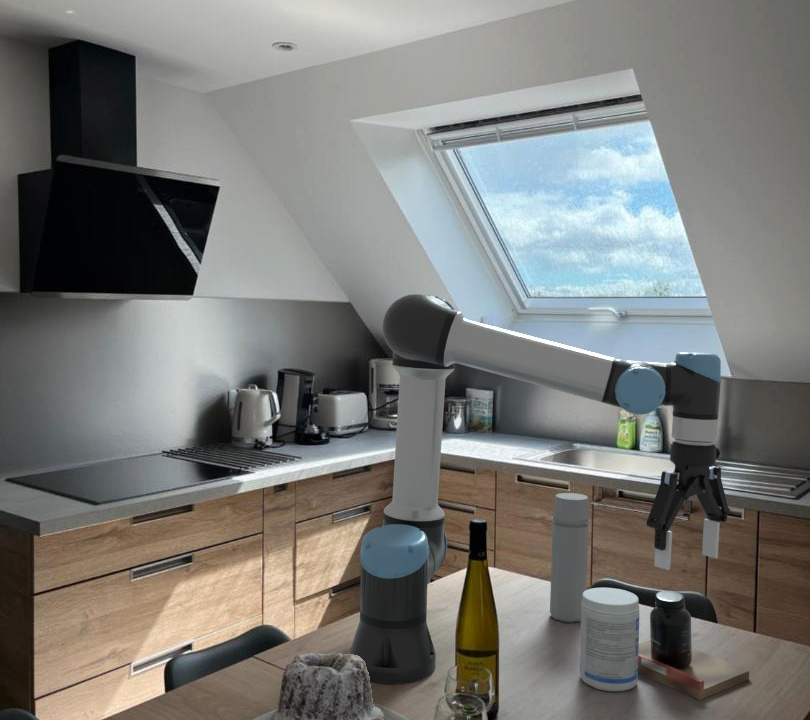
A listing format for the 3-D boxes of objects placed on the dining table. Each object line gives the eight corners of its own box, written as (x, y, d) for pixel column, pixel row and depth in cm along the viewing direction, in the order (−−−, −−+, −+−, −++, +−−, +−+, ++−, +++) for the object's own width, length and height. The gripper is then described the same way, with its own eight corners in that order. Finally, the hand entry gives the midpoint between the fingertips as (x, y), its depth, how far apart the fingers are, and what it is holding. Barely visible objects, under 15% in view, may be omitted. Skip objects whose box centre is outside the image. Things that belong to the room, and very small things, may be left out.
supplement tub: (648, 690, 138) (651, 603, 137) (596, 696, 136) (599, 607, 135) (618, 666, 147) (621, 584, 147) (569, 671, 145) (572, 588, 144)
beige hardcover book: (611, 661, 149) (611, 644, 149) (661, 644, 158) (661, 628, 158) (698, 700, 135) (699, 682, 135) (748, 679, 143) (749, 662, 143)
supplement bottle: (644, 664, 145) (642, 598, 144) (660, 648, 150) (658, 584, 149) (683, 674, 141) (681, 606, 139) (698, 658, 146) (696, 592, 144)
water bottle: (585, 626, 166) (589, 501, 165) (545, 621, 168) (549, 498, 167) (588, 610, 175) (592, 492, 174) (551, 606, 177) (554, 489, 176)
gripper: (717, 434, 155) (710, 546, 157) (629, 442, 141) (622, 566, 142) (754, 440, 149) (746, 557, 151) (666, 449, 135) (659, 579, 136)
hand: (686, 562), depth 146 cm, fingers open, 13 cm apart
